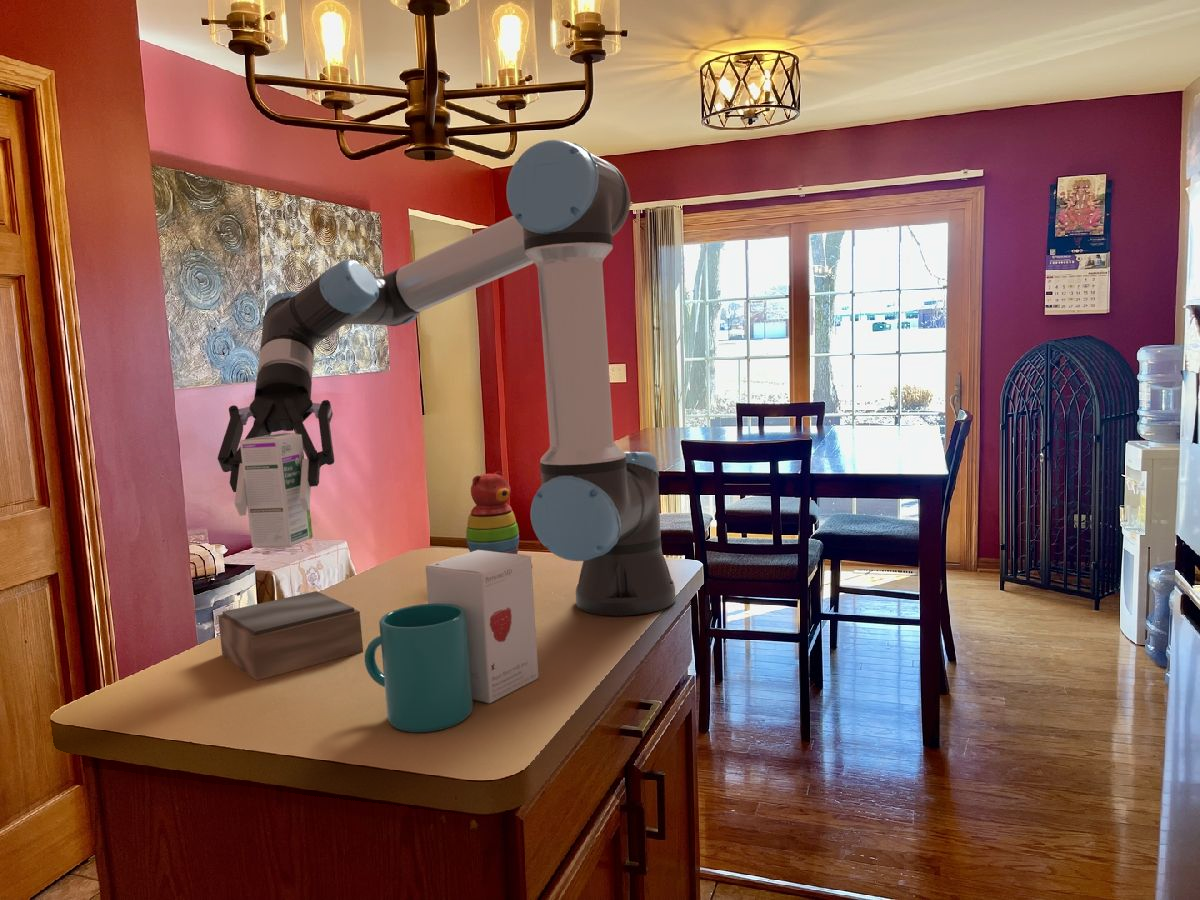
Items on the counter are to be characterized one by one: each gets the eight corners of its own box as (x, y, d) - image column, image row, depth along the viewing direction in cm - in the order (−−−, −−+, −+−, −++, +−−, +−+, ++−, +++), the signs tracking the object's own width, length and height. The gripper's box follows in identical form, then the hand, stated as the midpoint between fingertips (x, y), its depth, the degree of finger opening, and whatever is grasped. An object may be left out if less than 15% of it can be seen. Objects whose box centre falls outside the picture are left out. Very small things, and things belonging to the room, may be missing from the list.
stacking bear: (486, 582, 150) (479, 479, 148) (455, 573, 158) (448, 475, 156) (537, 569, 157) (530, 471, 155) (505, 561, 164) (498, 467, 163)
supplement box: (490, 705, 96) (480, 572, 94) (432, 691, 101) (421, 565, 100) (541, 678, 103) (533, 554, 102) (485, 666, 108) (476, 548, 107)
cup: (393, 695, 101) (384, 600, 99) (487, 703, 97) (480, 604, 96) (346, 728, 92) (337, 625, 91) (448, 738, 88) (439, 630, 87)
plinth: (363, 651, 117) (359, 607, 116) (256, 680, 108) (251, 633, 107) (322, 629, 128) (318, 589, 127) (222, 654, 119) (217, 611, 118)
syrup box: (290, 548, 113) (279, 436, 112) (249, 548, 114) (238, 438, 113) (313, 538, 119) (303, 432, 117) (274, 538, 120) (264, 433, 118)
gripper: (359, 391, 131) (357, 517, 117) (218, 400, 128) (198, 530, 114) (352, 355, 125) (348, 483, 111) (204, 364, 122) (181, 495, 108)
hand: (272, 506), depth 112 cm, fingers closed on syrup box, 7 cm apart
